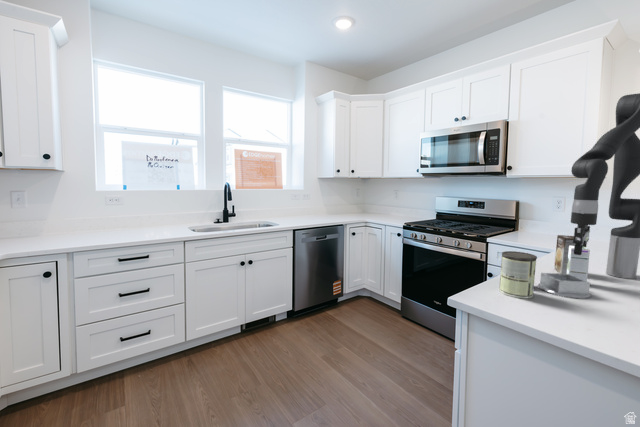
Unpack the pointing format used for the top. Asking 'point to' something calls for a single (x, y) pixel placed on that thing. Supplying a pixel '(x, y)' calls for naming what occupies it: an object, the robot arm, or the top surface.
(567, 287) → the collar
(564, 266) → the coffee box
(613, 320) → the top surface
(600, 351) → the top surface
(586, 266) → the syrup box
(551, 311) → the top surface
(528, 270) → the coffee can
